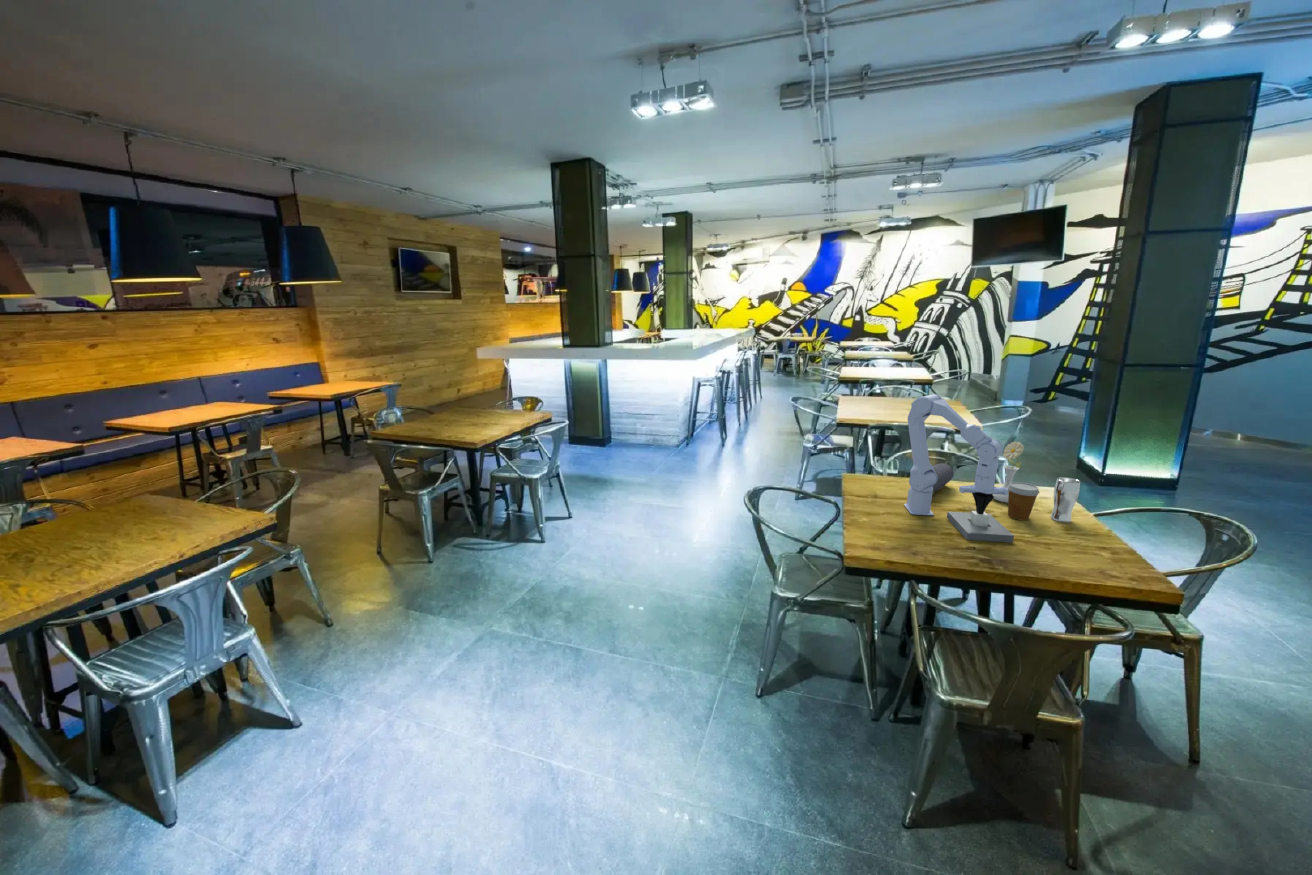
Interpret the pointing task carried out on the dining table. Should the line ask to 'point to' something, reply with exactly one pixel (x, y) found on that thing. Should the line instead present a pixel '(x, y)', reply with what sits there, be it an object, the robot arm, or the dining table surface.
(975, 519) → the plug block
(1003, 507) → the dining table surface
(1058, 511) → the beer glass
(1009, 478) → the flower in vase
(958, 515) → the socket plate
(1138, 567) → the dining table surface
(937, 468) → the bluetooth speaker
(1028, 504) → the disposable coffee cup
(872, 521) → the dining table surface
